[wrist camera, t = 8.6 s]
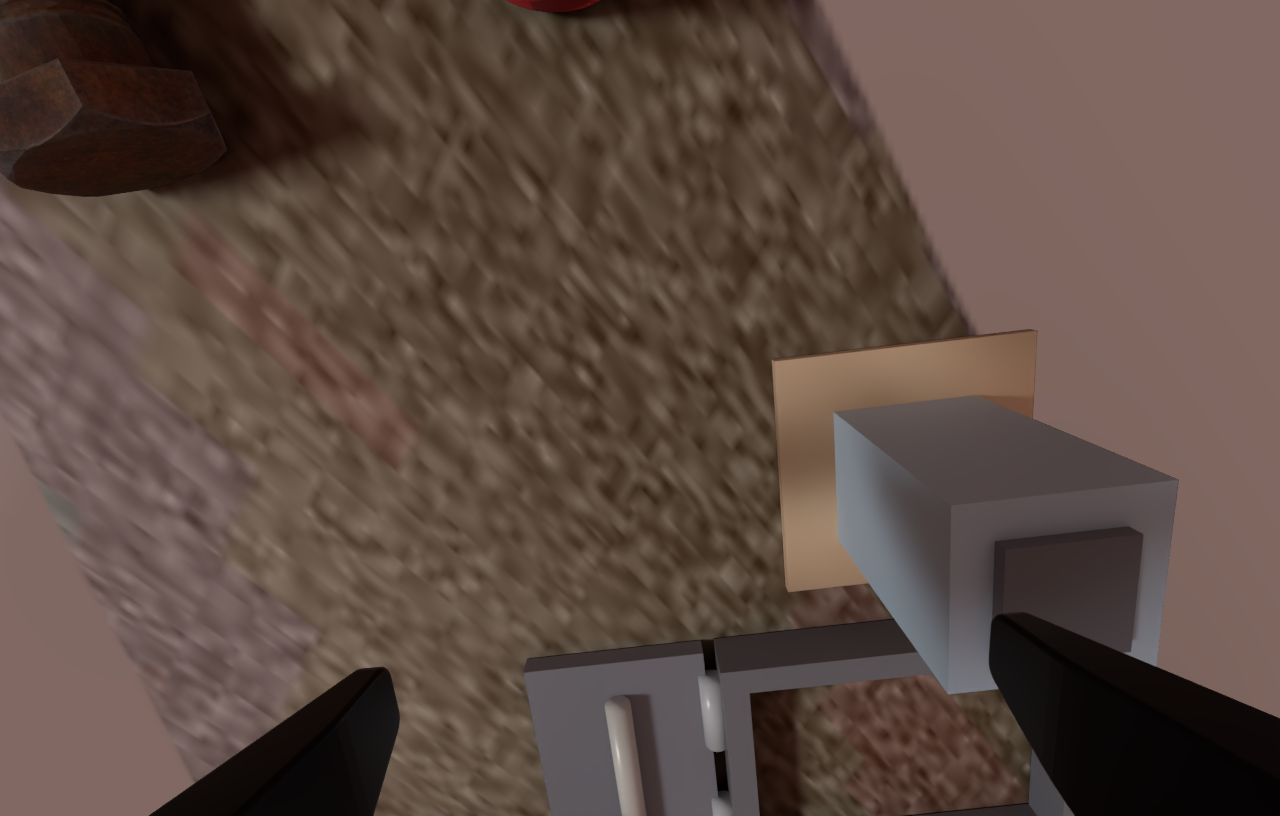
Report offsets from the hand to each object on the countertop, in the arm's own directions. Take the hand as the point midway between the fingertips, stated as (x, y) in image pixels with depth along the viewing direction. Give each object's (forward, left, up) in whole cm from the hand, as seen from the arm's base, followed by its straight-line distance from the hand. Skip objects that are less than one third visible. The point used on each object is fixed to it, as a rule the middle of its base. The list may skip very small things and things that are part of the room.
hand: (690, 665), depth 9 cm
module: (-3, -9, -13) cm, 16 cm away
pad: (-3, -9, -13) cm, 16 cm away
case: (-15, -5, -13) cm, 20 cm away
